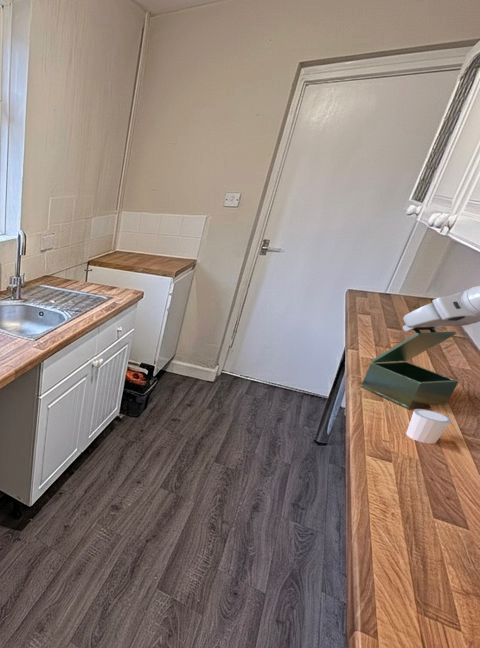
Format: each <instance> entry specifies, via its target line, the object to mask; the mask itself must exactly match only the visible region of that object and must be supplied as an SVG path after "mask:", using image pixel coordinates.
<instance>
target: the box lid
mask: <svg viewBox="0 0 480 648" xmlns="http://www.w3.org/2000/svg"><path fill="white" fill-rule="evenodd" d="M433 328H434V327H416V328H415V329H414V330H413V332H415V333H414V334H412V335H411V336H410V337H408V338H406V339H404V340H402V341H401V342H400V343H398V344H396V345H394V346H393V347H391V348H389V349H388V350H386V351H384V352H382V353H381V354H379V355H377V356H376V357H374V358H373V359H371V360H370V363H383V362H404V361H406V362H409V361H410V360H412V359H413V358H415V357H417V356H419V355H421V354H422V353H424V352H426V351H428V350H430V349H432V348H434V347H435V346H437V345H439V344H440V343H441V344H442V342H444V341H446V340H448V339H450V338H452V337H453V336H455V335H457V331H453V330H452V331H436V329H433ZM422 331H429V332H422Z"/></svg>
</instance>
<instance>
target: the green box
mask: <svg viewBox="0 0 480 648" xmlns="http://www.w3.org/2000/svg"><path fill="white" fill-rule="evenodd" d="M459 382H460V381H459V380H456V379H454V378H451V377H449V376H446V375H443V374H440V373H438V372H435V371H433V370H429V369H427V368H425V367H422V366H420V365H416V364H414V363H411V362H409V361H397V362H376V363H372V362H370V364H369V366H368V368H367V371H366V374H365V375H364V378H363V380H362V383H361V385H360V388H361V389H364V390H366V391H368V392H370V393H372V394H375V395H377V396H379V397H381V398H383V399H385V400H386V401H390V402H392V403H393V404H396V405H398V406H400V407H401V408H404V409H406V410H415V409H432V407H431V405H441V404H448V403H449V402H450V399H451V397H452V396H453V394H454V392H455V389H456V388H457V385H458V384H459Z"/></svg>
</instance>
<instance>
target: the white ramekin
mask: <svg viewBox="0 0 480 648" xmlns="http://www.w3.org/2000/svg"><path fill="white" fill-rule="evenodd" d="M451 423H452V419H451V418H450V417H449V416H447V415H445V414H443V413H440V412H438V411H434V410H430V409H426V408H422V409H413V412H412V415H411V417H410V421H409V424H408V427H407V430H406V432H405V435H406V436H407V437H408V438H409V439H411V440H414V441H416V442H419V443H423V444H427V445H434V444H437V442H438V440H439V439H440V437H441V436H442V435H443V434H444V432H445V431H446V429H447V428H448V427H449V425H450V424H451Z"/></svg>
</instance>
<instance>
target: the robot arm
mask: <svg viewBox="0 0 480 648" xmlns="http://www.w3.org/2000/svg"><path fill="white" fill-rule="evenodd" d="M431 301H432V302H430V303H428V304H425V305H423V306H420V307H419V308H416V309H414V310H412V311H410V312H409V313H408V312H407V313H406V314H405V315H404V316H403V317H402V319H403V322H404V325H403V326H402V329H403V331H404V332H412V331H414V329H415V328H416V327H434V328H433V329H434V330H437V329H440V328H445V327H465V326H469V325H472V324H477V323H479V322H480V285H477V286H472V287H470V288H468V289H465V290H463V291H459V292H457V293H454V294H449V295H444V296H438V297H436V298H433V299H432V300H431Z"/></svg>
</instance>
